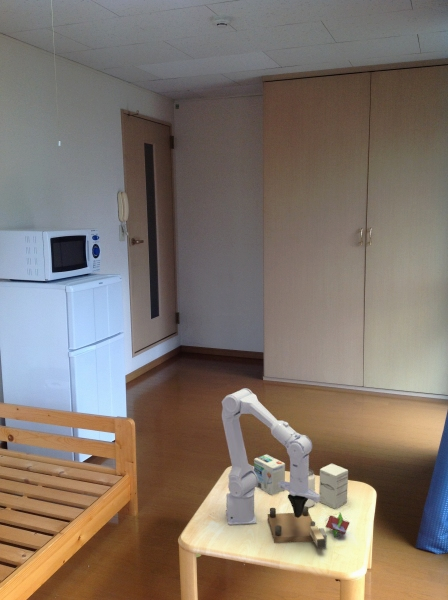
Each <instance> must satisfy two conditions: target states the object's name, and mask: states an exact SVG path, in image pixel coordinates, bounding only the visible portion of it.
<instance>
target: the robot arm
mask: <svg viewBox="0 0 448 600" xmlns="http://www.w3.org/2000/svg"><path fill="white" fill-rule="evenodd" d="M221 405H222V411H221V419H222V424H223V429H224V433H225V439H226V445H227V448H228V452H229V458H230V463H231V469H230V471H229V473H228V491H229V492H228V493H226V510H225V516H226V517H227V525H229V526H232V525H249V524H250V525H251V524H257V523H258V522H257V518H256V513H255V491H256V488H257V485H258V477H257V475H256V473H255V471H254V465H251V464H249V461H248V456H247V452H246V447H245V441H244V438H243V432H242V428H241V424H240V417H241V416H242V415H246V414H247V415H253V416H254V417H255V418H257V420H258V421H260V422H261V423H263V424H264V425H265V426H267V427H268V428H269V429H270V433H271V436H273V437H274V439H276V440H277V441H278V442H279V443H280V444H281V445H283V446H284V447H285V448H286V452H287V455H288V456H289V461H290V462H289V481H286V480H285V481H282V480H281V481H280V482H278V488H279V489H282V488H283V489H285V490H284V491H288V495H287V499H288V501H289V502H290V505H291V507H292V510H293V513H294V515H295V517H297V518H299V517H300V516H302V512H303V509H304V506H305V504H306V502H307V500H308V499H311V500H313V501H314V502H315V504H319V503H320V502H319V501H320V495H319V493H317V492H316V491H315V492H314V491H313V490H311V489H310V488H308V473H309V469H310V468H309V466H310V464H309V463H310V460H309V459H310V452H312V451H313V443H312V440H311V439H310V438H309V436H308V435H305V434H300V433H299V432H297V431H296V430H294V428H292V427H291V426H290V425H289V424H290V423H288V422H287V421H285V420H277V418H276V417H275V416H274V415H273V414H272V413H271V411H269V410H268V409H267V408H266V407H265V406H264V405H263V404H262V403H261V402H260V401H259V400H258V397H257V394H255V393H253V391H252V390H251V389H249V388H244V387H243V388H241V389H240V390H237V391H236V392H232V393H231V394H227V395H226V396H225V397H224V398H223V399H222V401H221Z"/></svg>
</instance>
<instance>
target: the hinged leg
mask: <svg viewBox="0 0 448 600" xmlns="http://www.w3.org/2000/svg"><path fill="white" fill-rule="evenodd" d="M319 528H320V527H318V525H316V521H313V520H312V521H311V526H310V534H311V536H312V538H313V540H314V541H313V542H314V543H315V545H316V548H317V549H322V548H325V539H324V537H323V536H322V534H321V532H320V530H319Z"/></svg>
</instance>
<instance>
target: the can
mask: <svg viewBox="0 0 448 600" xmlns="http://www.w3.org/2000/svg"><path fill="white" fill-rule="evenodd" d="M308 488H310V489H311V490H313V491H314V492H315V493H316V475H315V472H314V470H312V469H310V468H309V473H308ZM315 504H316V503H315V502H314V501H313V500H311V499H308V500H307V502H306V504H305V506H307V507H308V509H309V508H312V507H313V506H315Z"/></svg>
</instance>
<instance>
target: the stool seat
mask: <svg viewBox="0 0 448 600" xmlns="http://www.w3.org/2000/svg"><path fill="white" fill-rule="evenodd" d="M311 521H313V519H312V516H311V515H310V512H309V508H308V507H307V506H304V509H303V512H302V516H300V517H299V518H297V517H295V515H294V512H287V513H286V512H285V513H284V512H283V513H281V512H280V513H277V508H275V507H270V508H269V513H268V514H267V522H268V526H269V530H270V533H271V536H272V540H273V543H274V544H284V543H285V544H288V543H305V542H308V543H309V542H314V540H313V538H312V536H311V534H310V526H311Z"/></svg>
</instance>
